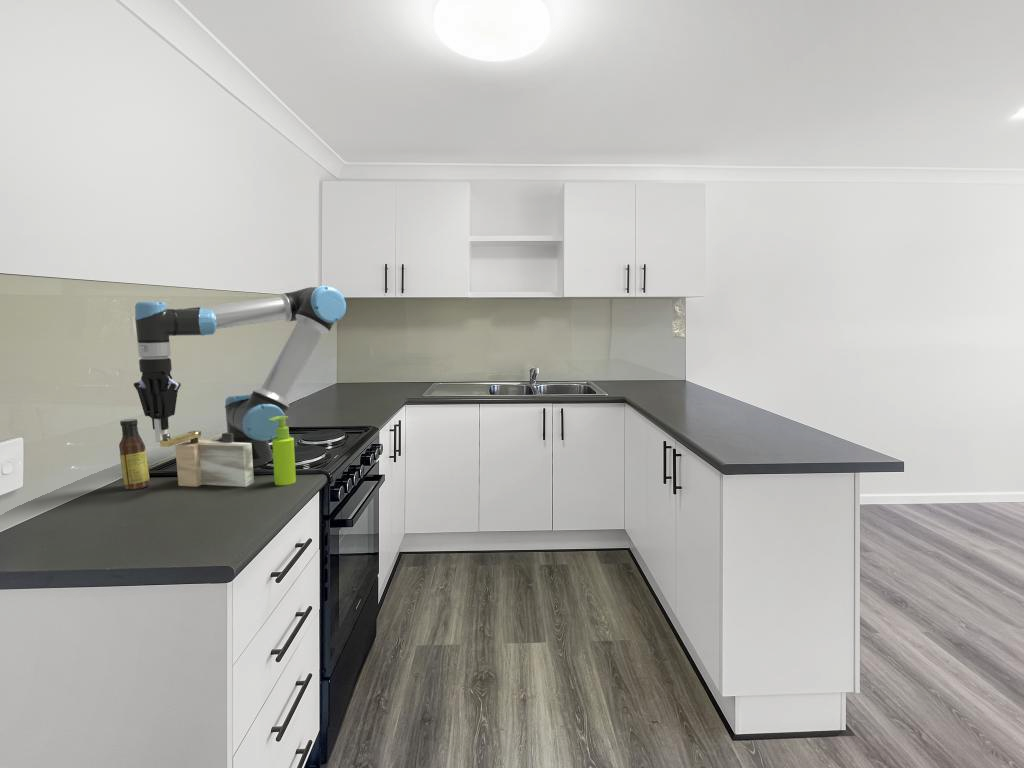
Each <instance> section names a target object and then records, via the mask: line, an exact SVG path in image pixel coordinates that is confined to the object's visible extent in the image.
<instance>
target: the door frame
mask: <svg viewBox="0 0 1024 768" xmlns="http://www.w3.org/2000/svg"><path fill="white" fill-rule="evenodd" d="M221 439H222V441H214V440H213V439H199V438H194V439H191V440H188V441H185V442H182V443H178V444H175V446H174V448H175V458H176V470H177V471H176V472H177V482H178V486H179V487H194V488H195V487H199V486H202V485H203V486H223V487H248V486H250V485H252V484H254V483H255V479H254V478H255V477H254V476H255V475H254V467H253V459H252V443H238V442H234V436H233V433H227V432H223V433H221Z"/></svg>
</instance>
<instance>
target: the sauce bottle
mask: <svg viewBox="0 0 1024 768" xmlns="http://www.w3.org/2000/svg"><path fill="white" fill-rule="evenodd" d="M119 424H120V426H121V431H122V433H121V435H122V437H121V440H120V441H119V444H118V446H119V447H118V448H119V459H120V465H121V472H122V479H123V485H124V488H125V489H126V490H130V491H133V490H139V489H140V490H141V489H144V488H146V487H149V486H150V473H149V471H150V470H149V465H148V464H149V463H148V456H147V448H146V444H145V443H144V441H143V439H142V438H141V436H140V433H139V428H138V424H139V421H138V419H137V418H125V419H122V420H120V421H119Z"/></svg>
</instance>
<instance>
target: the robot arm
mask: <svg viewBox="0 0 1024 768" xmlns="http://www.w3.org/2000/svg"><path fill="white" fill-rule="evenodd" d="M134 307H135V308H134V311H135V312H134V315H135V318H134V321H135V329H136V340H137V341H136V342H137V349H138V350H137V351H138V357H140V359H139V360H138V363H139V371H140V372H141V377H140V378H141V379H140V380H139V381H137V382H134V383H133V387H134V388H135V390H136V391H137V394H138V398H139V401H140V405H141V407H142V410H143V413H144V416H145V417H150V419H151V421H152V422H151V423H152V429H153V430H154V434H155V435H154V436H155V443H160V441H161V440H163V438H162V435H163V434H168V430H169V429H170V428H169V418H170V417H172V416H174V415H175V413H176V407H177V401H178V400H177V399H178V393H179V390H180V388H181V386H182V384H181V383H180V382H178V381H177V382H176V381H175V380H173V377H172V376H173V375H172V374H171V371H172V370H173V368H172V359H171V358H170V357H171V356H172V354H171V353H172V352H171V344H170V337H171V336H172V337H173V336H174V337H175V336H202V337H204V336H211V335H214V334H215V333H216V331H217V330H218V329H219V330H221V329H227V328H233V327H234V328H235V327H239V326H246V325H248V326H249V325H255V324H261V323H267V322H274V321H280V320H281V321H282V320H284V321H286V322H295V321H296V324H295V326H294V328H293V330H292V331H291V333H290V335H289V337H288V338H287V340H286V342H285V343H284V346H283V347H282V350H281V351H280V353H279V355H278V356H277V359H276V360H275V362H274V364H273V366H272V367H271V369H270V371H269V373H268V374H267V377H266V378H265V381H264V382H263V384H262V385H261V387H260V388H257V389H254V390H253V391H252V393H251V394H250V393H249V394H244V395H243V394H242V395H241V394H240V395H233V396H232V395H230V396H227V397H226V399H225V405H224V407H225V418H226V420H225V421H226V433H233V436H234V442H238V443H252V459H253V468H257V467H261V466H262V467H263V466H265V465H266V464H265V463H266V462H269V461H271V460H272V459H273V450H272V449H271V448H272V447H271V446H270V444H269V440H273V439H275V438H277V435H276V428H277V427H278V426H279V420H276V421H269V419H271V418H273V417H276V416H286V413H287V412H288V409H290V405H289V401H288V400H289V397H290V395H291V394H292V391H293V390H294V388H295V386H296V384H297V382H298V380H299V379H300V377H301V375H302V373H303V371H304V370H305V368H306V365H307V363H308V362H309V360H310V358H311V356H312V355H313V353H314V351H315V349H316V348H317V345H318V343H319V341H320V340H321V338H322V336H323V335H326V334H329V333H330V331H331V330H332V328H333V326H334V325H335V323H336V322H339V321H341V320H342V318H343V317H344V316H345V314H346V310H347V303H346V299H345V296H344V295H343V294H342V292H341V291H339V290H338V289H337V288H335V287H333V286H327V285H320V286H310V287H306V288H305V287H304V288H303V289H299V290H296V291H295V290H294V291H291V292H284V293H280V294H279V296H276V297H268V298H260V299H251V300H244V301H237V302H229V303H221V304H211V305H206V306H205V305H204V306H197V307H190V308H189V307H187V308H175V309H173V308H168V305H167V303H166V302H164V301H139V302H137V303H136V304H135V306H134ZM285 422H286V419H285ZM264 464H265V465H264Z"/></svg>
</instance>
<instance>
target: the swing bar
mask: <svg viewBox="0 0 1024 768" xmlns="http://www.w3.org/2000/svg"><path fill="white" fill-rule="evenodd" d="M200 437H202V431H201V430H190V431H187V432H184V433H182V434H178V435H175V436H174V435H173V436H171V433H167V434H163V435H162V438H163V440H161V441H160V442H159V443H160V444H159V447H163V448H164V447H165V448H166V447H168V448H169V447H172V446H174V445H178V444H181V443H185V442H188V441H190V440H191V439H194V438H198V439H199V438H200Z"/></svg>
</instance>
